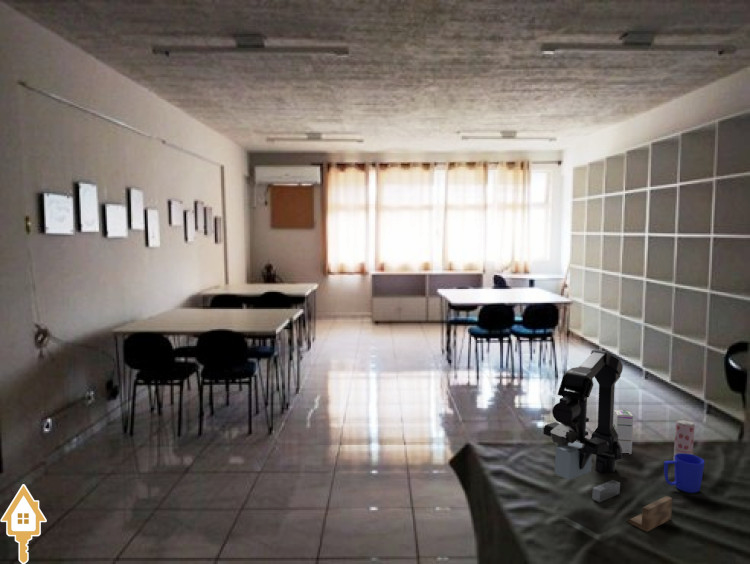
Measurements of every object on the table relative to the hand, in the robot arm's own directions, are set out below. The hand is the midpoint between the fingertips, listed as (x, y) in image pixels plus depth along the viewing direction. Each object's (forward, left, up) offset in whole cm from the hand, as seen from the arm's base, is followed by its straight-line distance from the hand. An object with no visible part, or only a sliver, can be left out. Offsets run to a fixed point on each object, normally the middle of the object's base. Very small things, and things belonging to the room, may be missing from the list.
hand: (573, 465), depth 162 cm
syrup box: (-50, -15, -12) cm, 53 cm away
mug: (-38, +13, -12) cm, 41 cm away
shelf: (-11, +7, -12) cm, 17 cm away
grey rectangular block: (-11, +4, -11) cm, 15 cm away
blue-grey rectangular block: (0, 0, -2) cm, 2 cm away
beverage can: (-58, +3, -12) cm, 59 cm away
